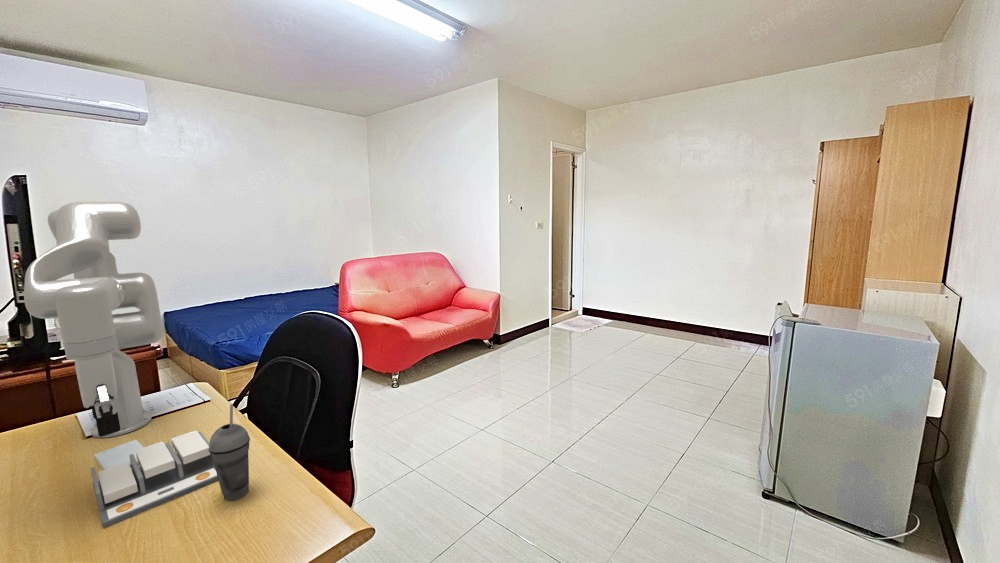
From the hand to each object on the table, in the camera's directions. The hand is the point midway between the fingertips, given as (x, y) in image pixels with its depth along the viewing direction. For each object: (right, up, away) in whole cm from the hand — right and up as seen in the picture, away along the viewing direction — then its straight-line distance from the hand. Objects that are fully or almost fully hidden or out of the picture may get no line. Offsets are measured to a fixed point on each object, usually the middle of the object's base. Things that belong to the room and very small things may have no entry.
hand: (106, 424), depth 86 cm
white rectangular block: (+5, -11, +7) cm, 14 cm away
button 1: (+1, -14, +2) cm, 15 cm away
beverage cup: (+26, -15, +2) cm, 30 cm away
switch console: (+6, -15, +6) cm, 17 cm away
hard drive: (-10, -14, +15) cm, 23 cm away
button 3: (+9, -10, +11) cm, 18 cm away
